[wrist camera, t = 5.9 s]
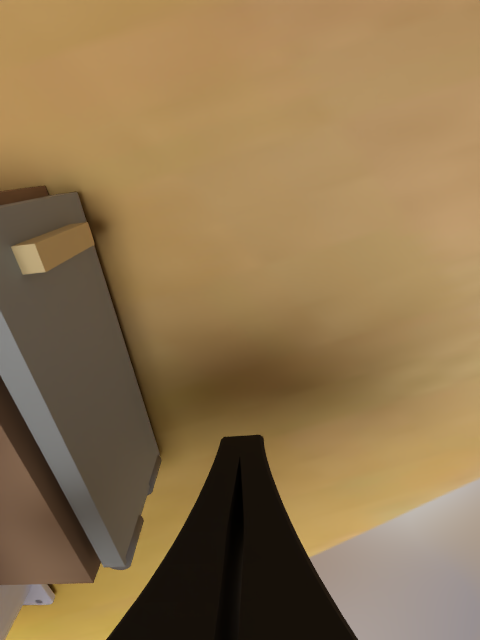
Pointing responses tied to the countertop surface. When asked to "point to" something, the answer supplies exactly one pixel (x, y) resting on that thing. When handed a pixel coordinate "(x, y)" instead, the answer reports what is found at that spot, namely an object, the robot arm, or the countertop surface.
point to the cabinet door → (74, 371)
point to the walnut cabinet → (35, 497)
